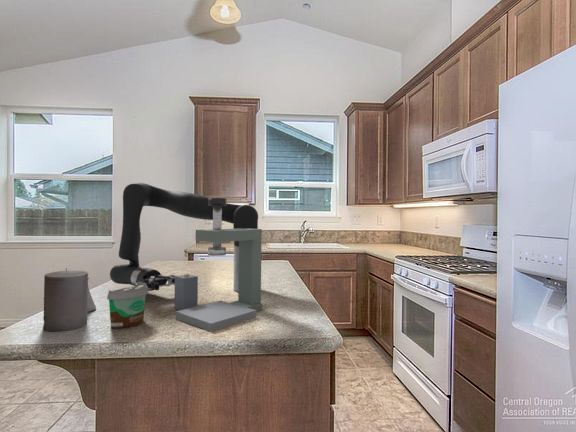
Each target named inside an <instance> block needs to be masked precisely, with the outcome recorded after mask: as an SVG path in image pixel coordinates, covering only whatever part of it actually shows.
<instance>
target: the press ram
mask: <svg viewBox="0 0 576 432" xmlns="http://www.w3.org/2000/svg"><path fill="white" fill-rule="evenodd" d="M226 203H227V198H225V197H224V198H222V197H221V198H220V197H209V198H208V205H210V206H213V220H212V229H213V230H215V231H216V230H221V229H223V228H222V222H223V221H222V206H226ZM226 254H227V247H225V246H222V242H212V246H208V247H207V255H208V256H215V257H219V256H226Z"/></svg>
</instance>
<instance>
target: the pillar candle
mask: <svg viewBox="0 0 576 432" xmlns="http://www.w3.org/2000/svg"><path fill="white" fill-rule="evenodd" d="M88 277H89V272H88V271H85V270H68V268H65V270H60V271H52V272H47V273H45V274H44V277H43V278H44V284H43V326H42V329H43V330H44V331H46V332H65V331H71V330H76V329H78V328H82V327H84V326H86V325H87V322H88V312H87V294H88V287H89V279H88Z"/></svg>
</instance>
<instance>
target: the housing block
mask: <svg viewBox="0 0 576 432" xmlns="http://www.w3.org/2000/svg"><path fill="white" fill-rule="evenodd" d="M198 285H199V277H198V275H192V274H189V273H183V274H182V275H175V285H174V306H173V307H174V310H177V311H180V310H184V309H188V308H192V307H196V306H199V305H198V302H199V297H198V291H199V288H198V287H199V286H198Z"/></svg>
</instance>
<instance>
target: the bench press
mask: <svg viewBox="0 0 576 432" xmlns="http://www.w3.org/2000/svg"><path fill="white" fill-rule="evenodd" d="M262 231H263V230H262V229H261V228H258V229H241V228H240V229H233V228H221V230H216V231H215V230H213V228H212V229H210V228H209V229H195V241H197V242H198V241H199V242H206V243H207V242H208V243H213V242H221V243H225V242H226V243H228V242H234V241H239V286H238V295H237V296H238V299H237V300H236V301H231V302H227V301H223V300H217V301H215V302H210V303H206V304H201V305H198V306H196V307H192V308H188V309H184V310H175V319H176V320H179V321H180V322H184V323H186V324H189V325H192V326H194V327H197V328H200V329H202V330H206V331H208V332H213V331H217V330H221V329H224V328H226V327H230V326H232V325H236V324H238V323H242V322H246V321H249V320H251V319H255V318H257V312H259V311H260V312H261V311H262V310H263V303H262V240H263V239H262V237H263V236H262V235H263V233H262Z"/></svg>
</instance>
